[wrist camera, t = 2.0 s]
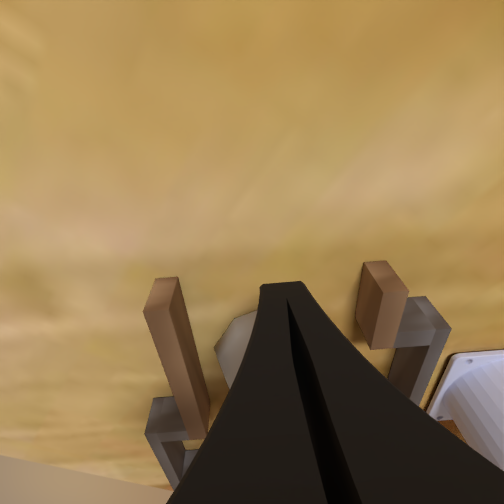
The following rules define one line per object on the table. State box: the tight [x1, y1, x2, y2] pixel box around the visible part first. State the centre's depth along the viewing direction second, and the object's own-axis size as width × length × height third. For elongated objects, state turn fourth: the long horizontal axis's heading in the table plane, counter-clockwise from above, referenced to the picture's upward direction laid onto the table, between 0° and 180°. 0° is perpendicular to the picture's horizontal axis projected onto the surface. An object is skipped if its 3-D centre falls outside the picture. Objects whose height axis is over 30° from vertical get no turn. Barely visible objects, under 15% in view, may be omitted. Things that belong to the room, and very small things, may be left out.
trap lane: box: [143, 261, 452, 491], centre depth 22 cm, size 18×26×2 cm
